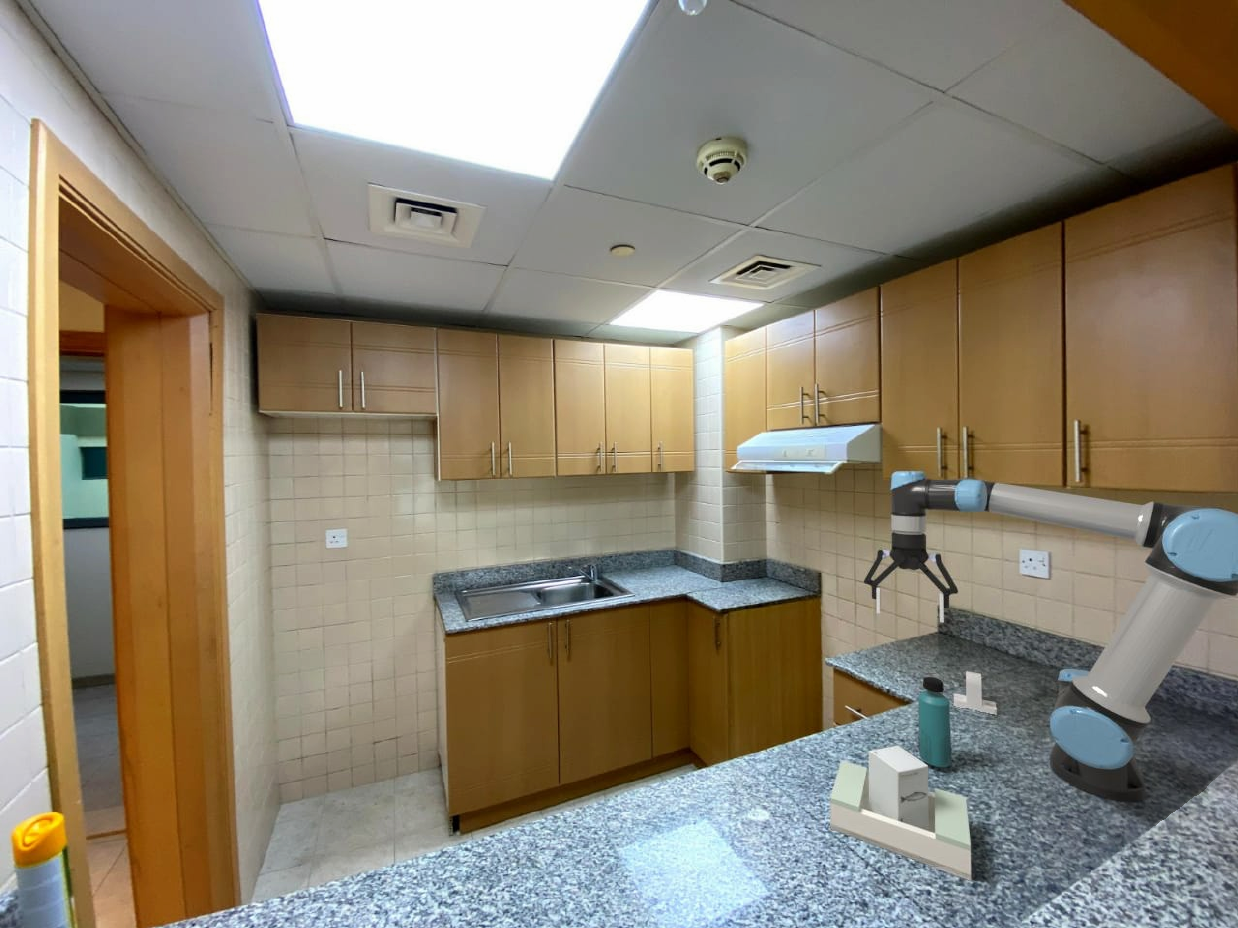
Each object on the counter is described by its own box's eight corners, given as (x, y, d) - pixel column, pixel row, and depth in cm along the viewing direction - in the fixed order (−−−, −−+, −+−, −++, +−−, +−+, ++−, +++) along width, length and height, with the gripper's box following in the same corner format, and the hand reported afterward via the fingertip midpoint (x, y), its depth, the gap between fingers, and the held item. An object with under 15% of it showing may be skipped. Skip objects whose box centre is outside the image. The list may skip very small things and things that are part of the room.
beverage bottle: (957, 775, 109) (956, 686, 109) (924, 772, 110) (923, 684, 110) (943, 758, 115) (943, 674, 115) (913, 755, 117) (912, 672, 117)
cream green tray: (966, 828, 93) (965, 796, 93) (971, 880, 81) (970, 845, 81) (841, 787, 105) (841, 760, 105) (830, 828, 93) (830, 797, 93)
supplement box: (898, 841, 89) (897, 772, 89) (867, 813, 96) (867, 749, 96) (930, 833, 91) (929, 765, 91) (898, 806, 98) (897, 743, 98)
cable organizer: (953, 699, 144) (953, 665, 144) (995, 708, 139) (995, 673, 139) (953, 706, 140) (953, 672, 140) (997, 716, 134) (996, 680, 134)
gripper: (968, 533, 119) (969, 620, 119) (855, 527, 132) (856, 605, 132) (970, 537, 112) (971, 629, 112) (852, 530, 126) (852, 612, 126)
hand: (909, 616), depth 122 cm, fingers open, 13 cm apart
